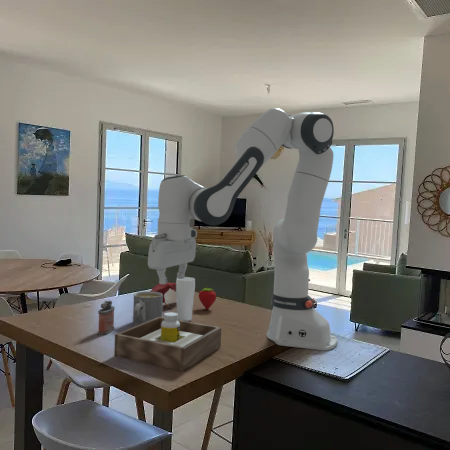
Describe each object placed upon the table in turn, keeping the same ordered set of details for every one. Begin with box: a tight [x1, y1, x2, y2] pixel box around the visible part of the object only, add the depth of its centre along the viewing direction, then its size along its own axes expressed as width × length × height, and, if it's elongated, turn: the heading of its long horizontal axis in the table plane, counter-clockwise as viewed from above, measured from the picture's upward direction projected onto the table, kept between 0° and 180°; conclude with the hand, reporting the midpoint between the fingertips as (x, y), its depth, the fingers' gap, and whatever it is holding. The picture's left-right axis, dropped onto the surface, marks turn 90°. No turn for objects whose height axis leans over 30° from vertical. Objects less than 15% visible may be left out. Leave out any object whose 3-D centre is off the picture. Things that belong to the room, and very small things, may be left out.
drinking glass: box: [175, 276, 196, 322], centre depth 163 cm, size 7×7×15 cm
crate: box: [113, 316, 222, 372], centre depth 130 cm, size 22×22×6 cm
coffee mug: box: [132, 290, 164, 326], centre depth 156 cm, size 13×10×10 cm
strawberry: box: [198, 284, 217, 310], centre depth 180 cm, size 6×8×10 cm
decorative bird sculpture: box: [149, 281, 176, 310], centre depth 179 cm, size 28×9×15 cm
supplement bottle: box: [161, 311, 180, 343], centre depth 130 cm, size 5×5×10 cm
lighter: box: [97, 300, 116, 337], centre depth 146 cm, size 8×3×10 cm, turn 168°
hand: (172, 281), depth 129 cm, fingers open, 8 cm apart
